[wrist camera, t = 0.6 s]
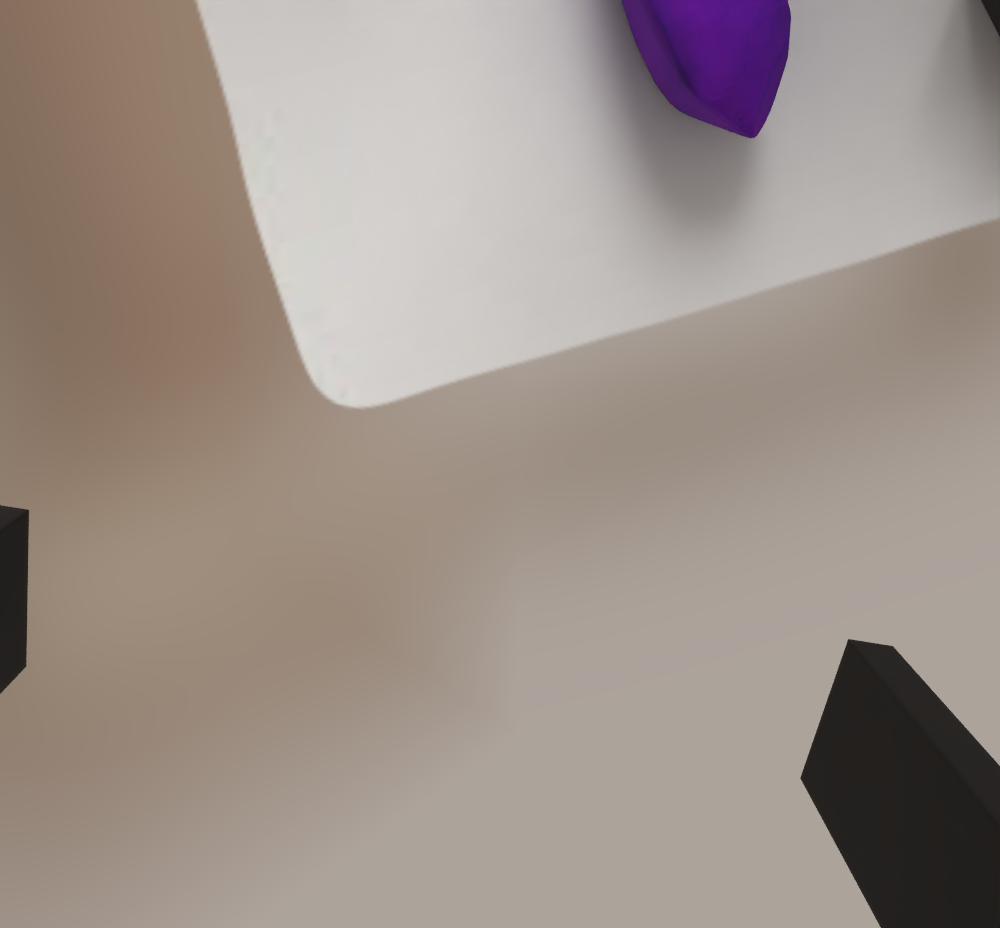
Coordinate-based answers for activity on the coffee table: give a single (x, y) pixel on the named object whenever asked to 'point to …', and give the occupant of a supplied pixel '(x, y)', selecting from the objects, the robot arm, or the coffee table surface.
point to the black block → (993, 11)
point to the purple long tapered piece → (715, 56)
